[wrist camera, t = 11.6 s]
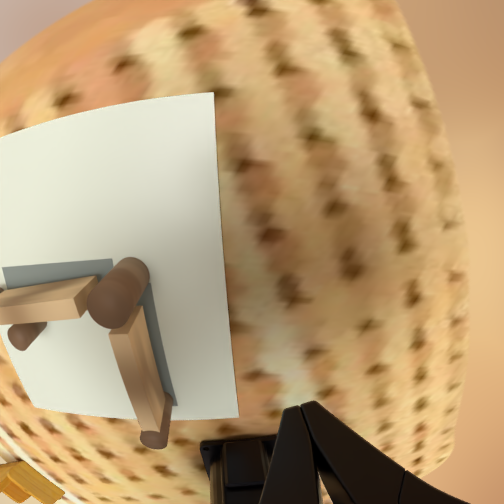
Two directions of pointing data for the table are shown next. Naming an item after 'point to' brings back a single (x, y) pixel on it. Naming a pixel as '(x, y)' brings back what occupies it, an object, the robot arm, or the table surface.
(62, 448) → the table surface
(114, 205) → the card
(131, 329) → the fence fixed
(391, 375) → the table surface
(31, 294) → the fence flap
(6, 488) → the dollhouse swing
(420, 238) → the table surface
